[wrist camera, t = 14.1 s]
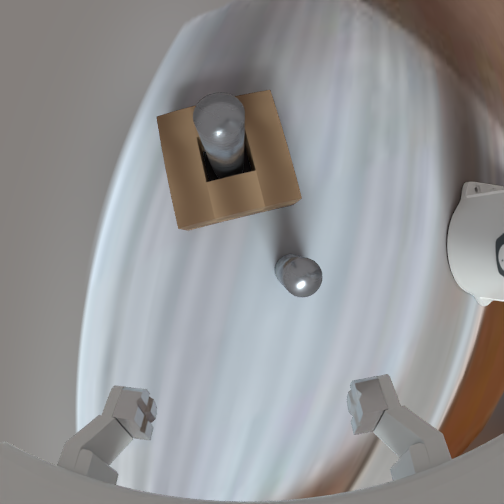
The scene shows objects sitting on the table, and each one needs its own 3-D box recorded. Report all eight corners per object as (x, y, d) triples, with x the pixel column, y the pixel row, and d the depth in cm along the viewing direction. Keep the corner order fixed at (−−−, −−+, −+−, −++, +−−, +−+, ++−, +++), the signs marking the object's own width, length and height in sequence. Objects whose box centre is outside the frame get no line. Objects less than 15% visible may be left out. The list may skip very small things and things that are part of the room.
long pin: (239, 148, 32) (238, 88, 18) (247, 176, 32) (250, 130, 18) (209, 155, 32) (189, 99, 18) (216, 184, 32) (198, 143, 18)
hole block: (266, 109, 32) (270, 89, 27) (292, 204, 32) (301, 198, 27) (167, 133, 32) (156, 116, 27) (188, 230, 32) (178, 228, 27)
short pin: (301, 251, 33) (317, 253, 26) (308, 281, 33) (325, 291, 26) (271, 258, 32) (279, 263, 25) (279, 289, 33) (288, 301, 26)
